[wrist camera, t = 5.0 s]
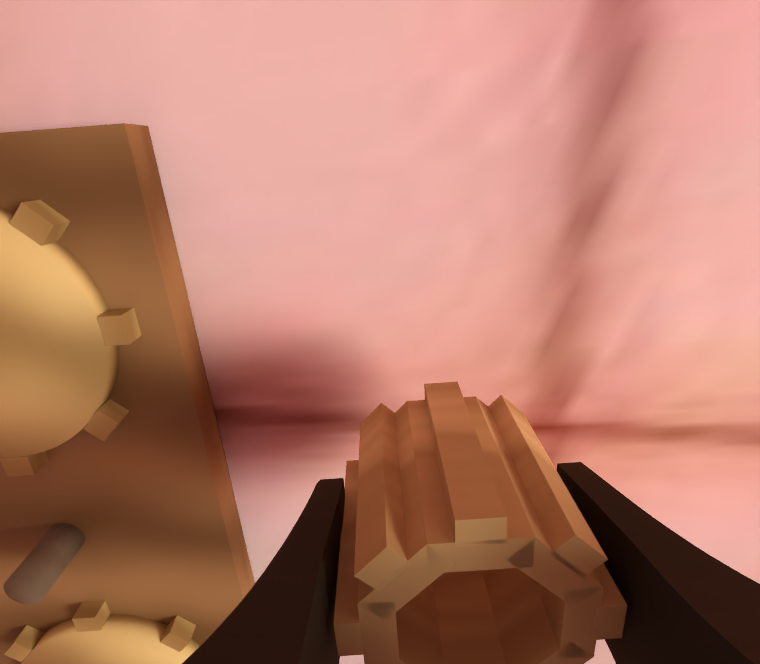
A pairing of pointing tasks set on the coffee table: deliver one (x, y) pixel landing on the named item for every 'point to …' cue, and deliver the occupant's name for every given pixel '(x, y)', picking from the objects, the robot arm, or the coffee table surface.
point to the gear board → (104, 415)
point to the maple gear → (466, 543)
